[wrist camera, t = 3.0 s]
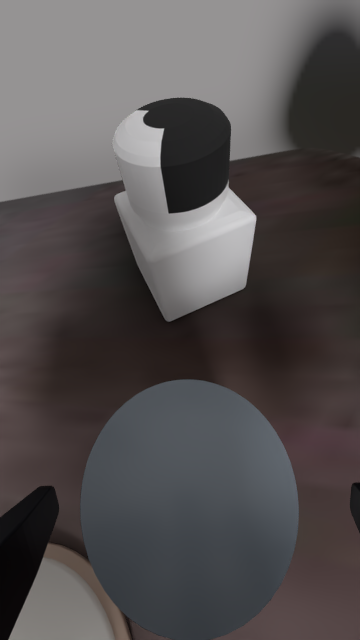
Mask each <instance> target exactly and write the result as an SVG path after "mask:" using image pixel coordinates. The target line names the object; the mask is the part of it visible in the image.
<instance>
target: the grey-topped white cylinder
mask: <svg viewBox="0 0 360 640" xmlns="http://www.w3.org/2000/svg"><path fill="white" fill-rule="evenodd" d="M80 514H81V527H82V534H83V540H84V544H85V548H86V551H87V555H88V558H89V561H90V563H91V566H92V568H93V570H94V573H95V575H96V577H97V579H98V580H99V582H100V584H101V586H102V587H103V589H104V591H105V592H106V593H107V595H108V596H109V597H110V599H111V600H112V601H113V603H114V604H115V605H116V606H117V607H118V608H119V609H120V610H121V611H122V612H123V613H124V614H125V615H126V616H127V617H128V618H130V619H131V620H133V621H134V622H135V623H137V624H138V625H140V626H141V627H142V628H144V629H146V630H149V631H151V632H153V633H155V634H157V635H159V636H163V637H167V638H170V639H174V640H209V639H213V638H216V637H219V636H223V635H226V634H228V633H230V632H232V631H234V630H236V629H238V628H240V627H241V626H243V625H245V624H246V623H247V622H248V621H250V620H251V619H252V618H253V617H255V616H256V615H257V614H258V613H259V612H260V611H261V610H262V609H263V608H264V607H265V606H266V604H267V603H268V602H269V601H270V600H271V598H272V597H273V595H274V594H275V592H276V591H277V589H278V588H279V586H280V585H281V583H282V581H283V578H284V576H285V574H286V572H287V570H288V568H289V565H290V562H291V559H292V555H293V552H294V549H295V543H296V538H297V532H298V517H299V508H298V493H297V488H296V482H295V477H294V473H293V470H292V466H291V463H290V460H289V458H288V455H287V453H286V450H285V448H284V446H283V444H282V442H281V440H280V438H279V437H278V435H277V433H276V432H275V430H274V429H273V427H272V426H271V425H270V423H269V422H268V420H267V419H266V418H265V417H264V416H263V415H262V414H261V413H260V411H259V410H258V409H257V408H255V407H254V406H253V405H252V404H251V403H250V402H249V401H247V400H246V399H244V398H243V397H241V396H240V395H239V394H237V393H235V392H233V391H231V390H229V389H228V388H226V387H223V386H220V385H218V384H215V383H211V382H207V381H202V380H192V379H186V380H174V381H168V382H164V383H161V384H157V385H155V386H152V387H150V388H148V389H145V390H144V391H142V392H140V393H138V394H137V395H135V396H134V397H132V398H131V399H130V400H128V401H127V402H126V403H125V404H124V405H123V406H121V407H120V408H119V409H118V410H117V411H116V412H115V413H114V415H113V416H112V417H111V418H110V419H109V421H108V422H107V423H106V425H105V426H104V428H103V429H102V431H101V432H100V434H99V436H98V438H97V440H96V442H95V444H94V445H93V448H92V450H91V453H90V456H89V458H88V461H87V465H86V468H85V472H84V476H83V482H82V488H81V501H80Z"/></svg>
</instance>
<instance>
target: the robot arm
mask: <svg viewBox="0 0 360 640" xmlns="http://www.w3.org/2000/svg"><path fill="white" fill-rule="evenodd" d="M350 510H351V513H352V516H353V518H354V521H355V523H356V526H357V528H358V530H359V533H360V483H353V484H352V487H351V498H350ZM58 512H59V504H58V500H57V496H56V492H55V489H54V487H53V486H40V487H38V488H37V489H36V490H34V491H33V492H32V493H31V494H29V495H28V496H27V497H25V498H24V499H23V500H22V501H20V502H19V503H18V504H17V505H15V506H14V507H13V508H12V509H10V510H9V511H8V512H7V513H5V514H4V515H3V516H1V517H0V640H8V639H9V637H10V635H11V633H12V630H13V628H14V626H15V623H16V621H17V619H18V617H19V614H20V612H21V610H22V608H23V605H24V603H25V601H26V598H27V596H28V594H29V592H30V589H31V587H32V585H33V582H34V580H35V578H36V575H37V573H38V570H39V567H40V565H41V562H42V559H43V556H44V553H45V551H46V548H47V545H48V542H49V539H50V536H51V533H52V531H53V528H54V525H55V522H56V519H57V516H58Z"/></svg>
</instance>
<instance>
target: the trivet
mask: <svg viewBox="0 0 360 640" xmlns="http://www.w3.org/2000/svg"><path fill="white" fill-rule="evenodd" d="M8 640H132V638H131V634H130V631H129V628H128V624H127V621H126V618H125V615H124V613H123V612H122V611H121V610H120V609H119V608H118V607H117V606H116V605H115V604H114V603H113V601H112V600H111V599H110V597H109V596H108V595H107V593H106V592H105V591H104V589H103V587H102V586H101V584H100V582H99V580H98V579H97V577H96V575H95V573H94V570H93V568H92V566H91V563H90V561H89V560H88V559H86V558H85V557H84V556H82V555H81V554H79V553H77V552H76V551H74V550H72V549H70V548H68V547H65V546H63V545H59V544H55V543H50V542H48V545H47V548H46V551H45V553H44V556H43V559H42V562H41V565H40V567H39V570H38V573H37V575H36V578H35V580H34V582H33V585H32V587H31V589H30V592H29V594H28V596H27V598H26V601H25V603H24V605H23V608H22V610H21V612H20V614H19V617H18V619H17V621H16V623H15V626H14V628H13V630H12V633H11V635H10V637H9V639H8Z"/></svg>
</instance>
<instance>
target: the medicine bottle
mask: <svg viewBox="0 0 360 640" xmlns="http://www.w3.org/2000/svg"><path fill="white" fill-rule="evenodd" d="M230 136H231V125H230V122H229V120H228V118H227V117H226V116H225V114H224V113H223V112H222V111H221V110H220V109H219V108H218V107H216V106H214V105H212V104H209V103H206V102H203V101H200V100H197V99H191V98H171V99H164V100H160V101H156V102H153V103H150V104H147V105H145V106H143V107H141V108H139V109H138V110H136V111H135V112H133V113H132V114H131V115H129V116H128V117H127V118H125V119H124V120H123V121H122V122H121V123H120V125H119V126H118V128H117V129H116V132H115V135H114V138H113V141H112V146H113V150H114V153H115V156H116V159H117V163H118V166H119V169H120V172H121V176H122V179H123V182H124V186H125V189H126V191H124V192H121V193H119V194H116V196H115V197H114V202H115V204H116V207H117V210H118V213H119V215H120V218H121V221H122V224H123V227H124V229H125V232H126V235H127V238H128V240H129V243H130V246H131V249H132V252H133V254H134V257H135V260H136V263H137V265H138V267H139V269H140V271H141V273H142V275H143V277H144V279H145V281H146V283H147V285H148V287H149V289H150V291H151V293H152V295H153V297H154V299H155V301H156V303H157V305H158V307H159V309H160V311H161V313H162V315H163V317H164V319H165V320H166V321H168V322H170V321H173V320H175V319H177V318H179V317H182V316H184V315H186V314H188V313H191V312H193V311H195V310H197V309H200V308H202V307H204V306H206V305H208V304H211V303H213V302H215V301H217V300H220V299H222V298H224V297H226V296H229V295H231V294H233V293H235V292H238V291H240V290H242V289H244V288H245V286H246V282H247V275H248V269H249V262H250V256H251V250H252V243H253V237H254V231H255V224H256V215H255V214H254V213H253V212H252V211H251V210H250V209H249V208H248V207H247V206H246V205H245V204H244V203H243V202H242V201H241V200H240V199H239V198H238V197H237V196H236V195H235V194H234V193H233V192H232V191H231V189H230V188H229V187H228V182H229V159H230Z"/></svg>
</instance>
